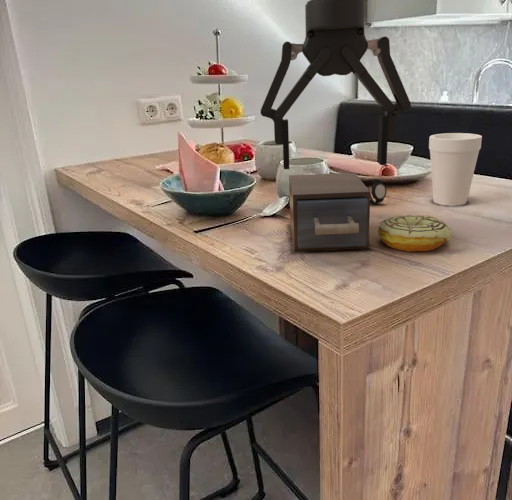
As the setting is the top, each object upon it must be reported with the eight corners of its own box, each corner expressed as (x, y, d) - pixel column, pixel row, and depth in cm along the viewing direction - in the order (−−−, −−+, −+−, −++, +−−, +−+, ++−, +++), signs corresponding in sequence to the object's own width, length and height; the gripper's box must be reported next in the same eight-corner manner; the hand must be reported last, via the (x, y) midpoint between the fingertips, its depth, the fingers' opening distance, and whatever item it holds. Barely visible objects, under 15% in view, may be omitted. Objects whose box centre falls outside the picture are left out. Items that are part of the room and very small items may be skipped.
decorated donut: (464, 247, 76) (466, 223, 75) (406, 259, 73) (408, 235, 72) (419, 229, 86) (421, 207, 84) (366, 239, 82) (366, 217, 81)
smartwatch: (369, 207, 100) (370, 182, 98) (360, 201, 105) (360, 177, 103) (389, 205, 101) (390, 181, 99) (379, 199, 105) (380, 176, 104)
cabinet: (368, 248, 78) (370, 191, 75) (294, 251, 78) (292, 194, 75) (353, 221, 92) (354, 172, 88) (290, 224, 92) (289, 175, 89)
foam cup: (470, 209, 95) (477, 140, 91) (421, 205, 100) (425, 139, 95) (477, 197, 103) (484, 133, 98) (431, 194, 107) (435, 132, 103)
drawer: (373, 259, 71) (375, 209, 69) (300, 262, 71) (299, 213, 69) (352, 220, 89) (353, 180, 87) (294, 223, 90) (293, 182, 87)
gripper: (425, -4, 66) (415, 157, 74) (239, 6, 67) (247, 164, 75) (443, -12, 59) (430, 166, 67) (235, -1, 60) (245, 174, 68)
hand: (333, 165), depth 71 cm, fingers open, 13 cm apart
